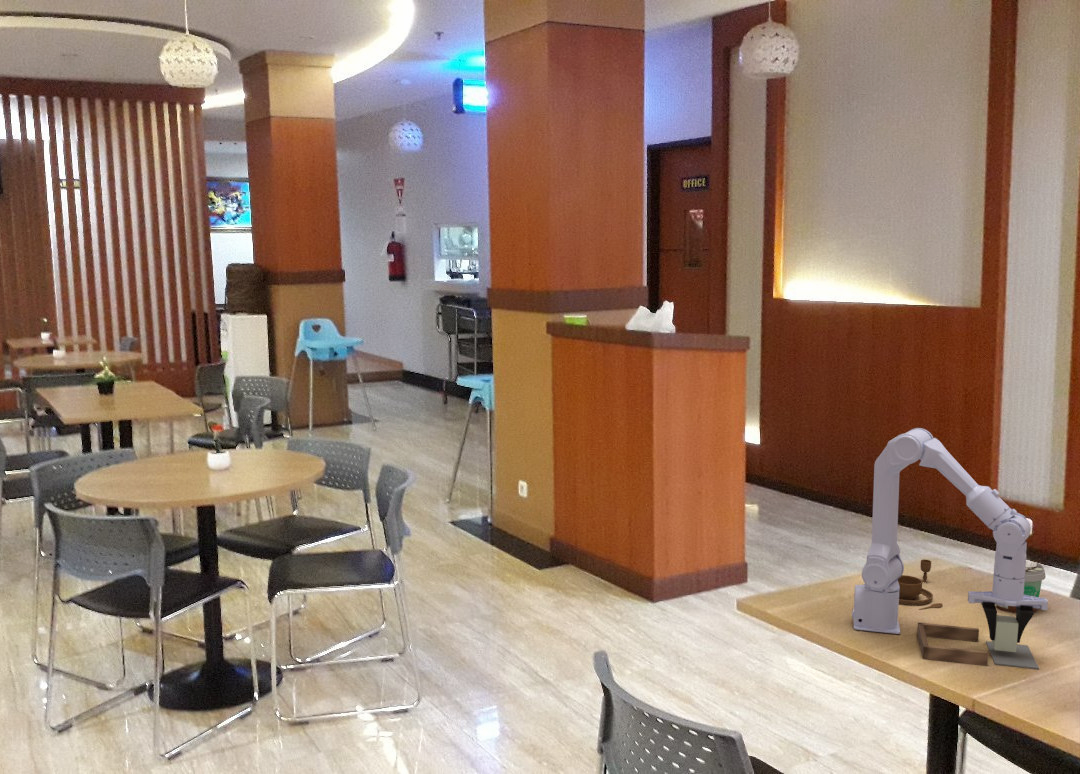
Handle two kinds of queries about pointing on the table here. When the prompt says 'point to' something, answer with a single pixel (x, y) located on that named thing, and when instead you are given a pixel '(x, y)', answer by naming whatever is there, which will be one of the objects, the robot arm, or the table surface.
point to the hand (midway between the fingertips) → (1004, 639)
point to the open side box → (950, 653)
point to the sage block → (1005, 633)
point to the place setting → (916, 588)
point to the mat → (1013, 657)
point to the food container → (1029, 585)
